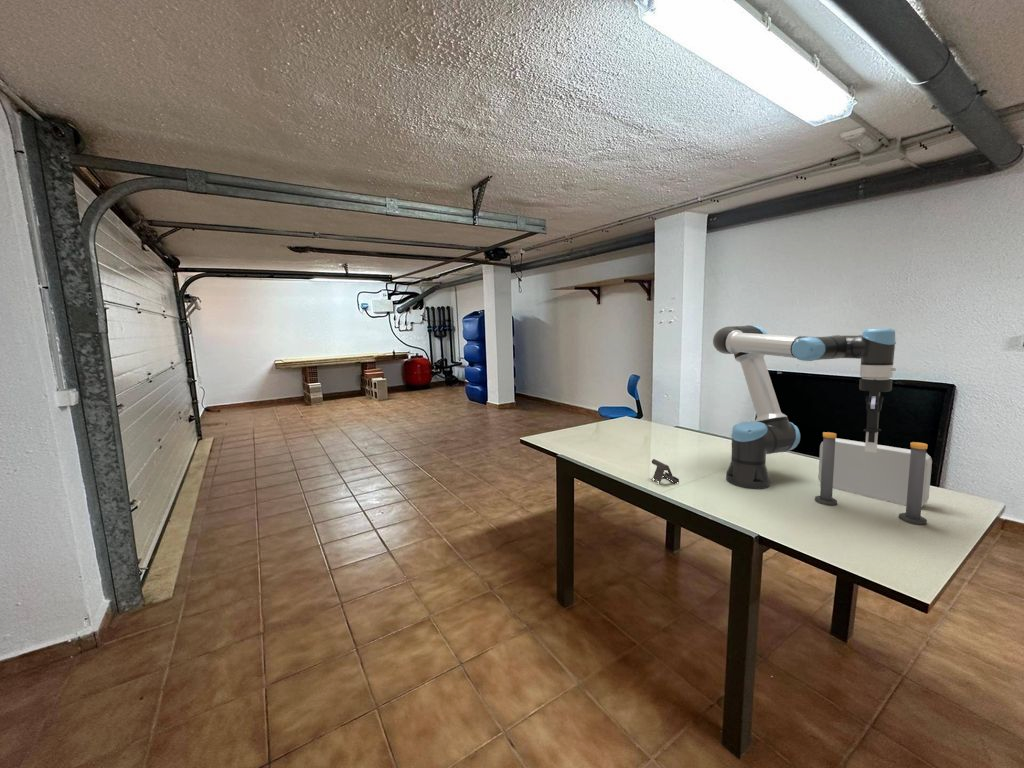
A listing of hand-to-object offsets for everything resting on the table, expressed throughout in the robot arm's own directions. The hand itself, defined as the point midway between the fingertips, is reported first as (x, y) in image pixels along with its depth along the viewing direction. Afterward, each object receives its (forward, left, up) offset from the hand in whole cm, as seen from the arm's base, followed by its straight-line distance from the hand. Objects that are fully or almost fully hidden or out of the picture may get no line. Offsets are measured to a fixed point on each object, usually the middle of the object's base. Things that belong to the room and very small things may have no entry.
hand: (870, 451), depth 125 cm
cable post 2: (+10, 0, -20) cm, 23 cm away
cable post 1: (-10, 0, -20) cm, 23 cm away
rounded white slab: (0, +17, -20) cm, 26 cm away
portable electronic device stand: (-60, -16, -20) cm, 66 cm away
